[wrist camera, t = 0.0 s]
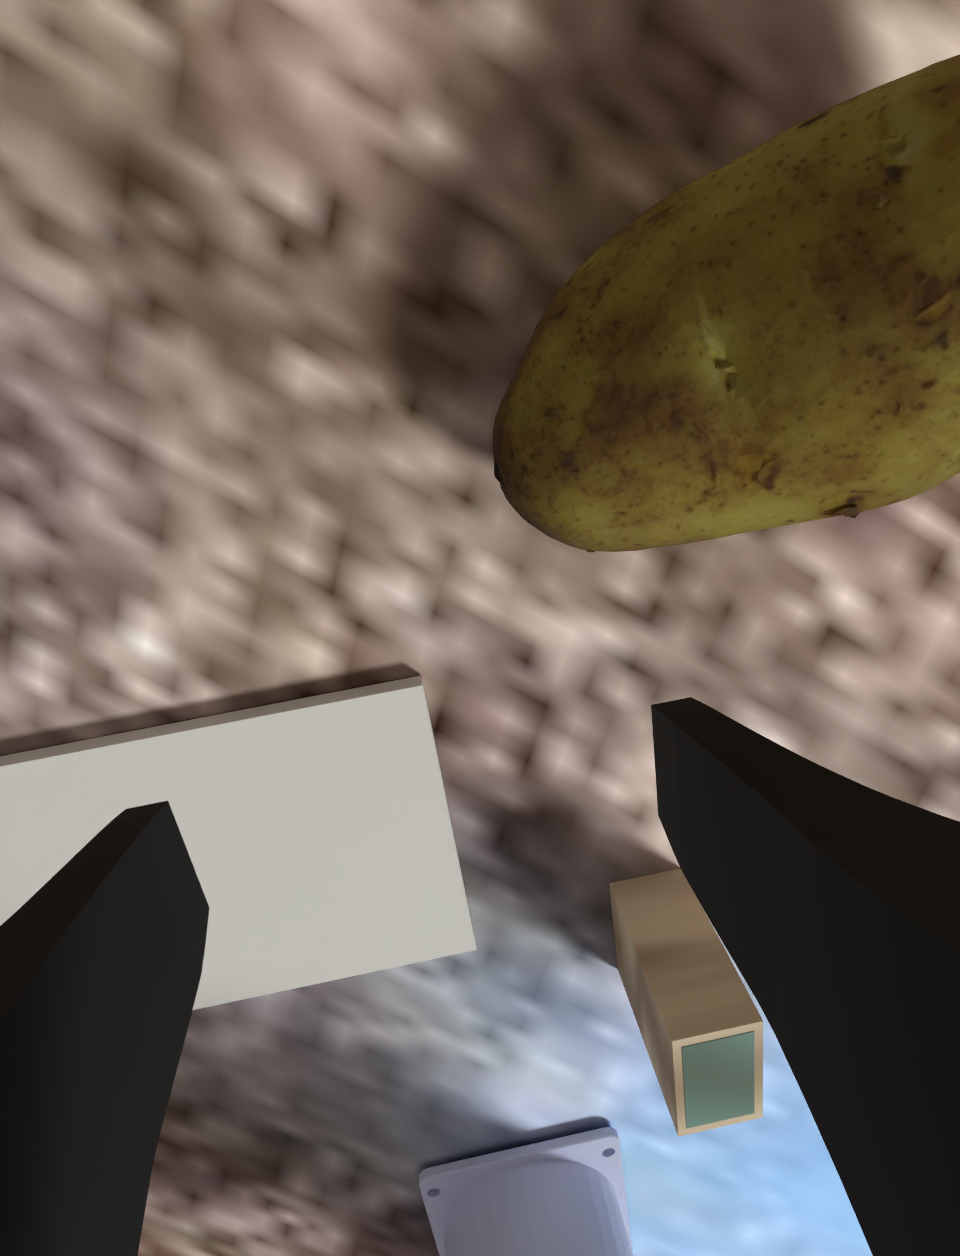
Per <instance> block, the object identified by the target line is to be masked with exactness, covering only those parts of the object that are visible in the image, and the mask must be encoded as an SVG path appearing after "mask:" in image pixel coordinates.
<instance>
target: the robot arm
mask: <svg viewBox="0 0 960 1256" xmlns="http://www.w3.org/2000/svg"><path fill="white" fill-rule="evenodd" d="M651 709H652V724H653V739H654V755H655V770H656V786H657V801H658V815H659V818H660V820H661V823H662V825H663V828H664V830H665V832H666V835H667V837H668V840H669V842H670V845H671V847H672V849H673V852H674V854H675V856H676V859H677V861H678V863H679V865H680V868H681V870H682V872H683V874H684V876H685V878H686V879H687V881H688V883H689V885H690V886H691V888H692V890H693V892H694V893H695V895H696V897H697V899H698V900H699V902H700V904H701V905H702V907H703V909H704V911H705V912H706V914H707V916H708V918H709V919H710V921H711V923H712V924H713V926H714V928H715V929H716V931H717V933H718V935H719V936H720V938H721V940H722V941H723V943H724V945H725V946H726V948H727V950H728V952H729V953H730V955H731V957H732V958H733V960H734V962H735V963H736V965H737V967H738V969H739V970H740V972H741V974H742V975H743V977H744V979H745V980H746V982H747V984H748V986H749V987H750V989H751V991H752V992H753V994H754V996H755V997H756V999H757V1001H758V1003H759V1005H760V1006H761V1008H762V1010H763V1012H764V1014H765V1016H766V1018H767V1020H768V1021H769V1023H770V1025H771V1027H772V1029H773V1031H774V1033H775V1035H776V1037H777V1039H778V1041H779V1044H780V1046H781V1048H782V1050H783V1052H784V1054H785V1057H786V1059H787V1061H788V1063H789V1065H790V1067H791V1070H792V1072H793V1074H794V1076H795V1078H796V1080H797V1082H798V1085H799V1087H800V1089H801V1091H802V1093H803V1095H804V1098H805V1100H806V1102H807V1104H808V1106H809V1109H810V1111H811V1113H812V1115H813V1118H814V1120H815V1122H816V1125H817V1127H818V1129H819V1131H820V1134H821V1136H822V1138H823V1140H824V1143H825V1145H826V1147H827V1149H828V1152H829V1154H830V1156H831V1158H832V1161H833V1163H834V1165H835V1167H836V1170H837V1172H838V1174H839V1176H840V1179H841V1181H842V1183H843V1186H844V1188H845V1190H846V1193H847V1195H848V1198H849V1200H850V1202H851V1205H852V1207H853V1209H854V1212H855V1214H856V1217H857V1219H858V1221H859V1224H860V1226H861V1228H862V1231H863V1233H864V1236H865V1238H866V1240H867V1243H868V1245H869V1247H870V1250H871V1252H872V1255H873V1256H960V822H959V821H956V820H953V819H950V818H947V817H944V816H941V815H938V814H935V813H933V812H930V811H927V810H925V809H922V808H919V807H917V806H914V805H911V804H908V803H906V802H903V801H900V800H898V799H895V798H892V797H890V796H887V795H885V794H883V793H880V792H878V791H875V790H873V789H870V788H868V787H866V786H863V785H861V784H859V783H857V782H855V781H852V780H850V779H848V778H846V777H844V776H841V775H839V774H837V773H835V772H833V771H830V770H828V769H826V768H824V767H822V766H820V765H818V764H816V763H814V762H812V761H810V760H808V759H806V758H804V757H802V756H800V755H798V754H796V753H794V752H792V751H790V750H788V749H786V748H784V747H782V746H780V745H778V744H777V743H775V742H773V741H771V740H769V739H767V738H765V737H764V736H762V735H760V734H758V733H756V732H754V731H752V730H751V729H749V728H747V727H745V726H743V725H742V724H740V723H738V722H736V721H734V720H733V719H731V718H729V717H727V716H725V715H724V714H722V713H720V712H718V711H716V710H715V709H713V708H711V707H709V706H707V705H705V704H703V703H701V702H700V701H697V700H695V699H693V698H691V697H690V698H685V699H680V700H675V701H669V702H664V703H659V704H654V705H651ZM208 916H209V905H208V903H207V900H206V897H205V895H204V892H203V890H202V887H201V885H200V882H199V879H198V877H197V874H196V872H195V869H194V866H193V864H192V861H191V859H190V856H189V853H188V851H187V848H186V846H185V843H184V841H183V838H182V835H181V833H180V830H179V828H178V825H177V822H176V820H175V817H174V815H173V812H172V809H171V807H170V804H169V802H168V801H163V802H158V803H153V804H148V805H143V806H138V807H133V808H128V809H125V810H124V811H123V812H121V813H120V814H119V815H118V816H117V817H115V818H114V819H113V820H112V821H111V822H110V823H109V824H107V825H106V826H105V827H104V828H103V829H102V830H101V831H100V832H99V833H98V834H97V835H96V836H95V837H94V838H92V839H91V840H90V841H89V842H88V843H87V844H86V845H85V846H84V847H83V848H82V849H81V850H80V851H79V852H78V853H77V854H76V855H75V856H74V857H73V858H72V859H71V860H70V861H69V862H68V863H67V864H66V865H64V866H63V867H62V868H61V869H60V870H59V871H58V872H57V873H56V874H55V875H54V876H53V877H52V878H51V879H50V880H49V881H48V882H47V883H46V884H45V885H44V886H43V887H42V888H40V889H39V890H38V891H37V892H36V893H35V894H34V895H33V896H32V897H31V898H30V899H29V900H28V901H27V902H26V903H25V904H24V905H23V906H22V907H21V908H20V909H18V910H17V911H16V912H15V913H14V914H13V915H12V916H11V917H10V918H9V919H7V920H6V921H5V922H4V923H3V924H2V925H1V926H0V1256H137V1255H138V1249H139V1243H140V1237H141V1231H142V1225H143V1218H144V1212H145V1206H146V1200H147V1194H148V1188H149V1182H150V1176H151V1170H152V1166H153V1161H154V1157H155V1152H156V1148H157V1143H158V1139H159V1134H160V1130H161V1127H162V1123H163V1119H164V1115H165V1112H166V1108H167V1104H168V1100H169V1097H170V1093H171V1089H172V1085H173V1082H174V1078H175V1074H176V1070H177V1067H178V1063H179V1059H180V1055H181V1052H182V1048H183V1044H184V1040H185V1037H186V1033H187V1029H188V1025H189V1021H190V1017H191V1013H192V1010H193V1006H194V1002H195V998H196V994H197V990H198V986H199V982H200V978H201V974H202V966H203V959H204V952H205V944H206V935H207V926H208ZM419 1188H420V1192H421V1195H422V1198H423V1202H424V1205H425V1208H426V1212H427V1215H428V1218H429V1222H430V1225H431V1229H432V1232H433V1235H434V1239H435V1242H436V1245H437V1249H438V1252H439V1256H633V1252H632V1244H631V1235H630V1226H629V1218H628V1209H627V1200H626V1192H625V1183H624V1174H623V1166H622V1157H621V1148H620V1140H619V1137H618V1133H617V1131H616V1130H615V1129H614V1128H611V1127H604V1128H599V1129H595V1130H590V1131H586V1132H582V1133H577V1134H573V1135H569V1136H564V1137H560V1138H555V1139H551V1140H547V1141H542V1142H538V1143H534V1144H529V1145H525V1146H520V1147H516V1148H512V1149H507V1150H503V1151H498V1152H494V1153H490V1154H485V1155H481V1156H477V1157H472V1158H468V1159H463V1160H459V1161H455V1162H450V1163H446V1164H442V1165H437V1166H433V1167H429V1168H426V1169H424V1170H423V1171H421V1173H420V1174H419Z"/></svg>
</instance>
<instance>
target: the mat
mask: <svg viewBox="0 0 960 1256" xmlns="http://www.w3.org/2000/svg"><path fill="white" fill-rule="evenodd" d="M163 801H168V802H169V804H170V807H171V809H172V812H173V815H174V817H175V820H176V822H177V825H178V828H179V830H180V833H181V835H182V838H183V841H184V843H185V846H186V848H187V851H188V853H189V856H190V859H191V861H192V864H193V866H194V869H195V872H196V874H197V877H198V879H199V882H200V885H201V887H202V890H203V892H204V895H205V897H206V900H207V903H208V905H209V916H208V926H207V935H206V944H205V952H204V959H203V966H202V974H201V978H200V982H199V986H198V990H197V994H196V998H195V1002H194V1006H193V1010H196V1009H201V1008H205V1007H210V1006H215V1005H219V1004H224V1003H229V1002H234V1001H238V1000H243V999H248V998H252V997H257V996H262V995H266V994H271V993H276V992H280V991H285V990H290V989H295V988H299V987H304V986H309V985H313V984H318V983H323V982H327V981H332V980H337V979H341V978H346V977H351V976H356V975H360V974H365V973H370V972H374V971H379V970H384V969H388V968H393V967H398V966H402V965H407V964H412V963H417V962H421V961H426V960H431V959H435V958H440V957H445V956H449V955H454V954H459V953H463V952H468V951H473V950H476V944H475V937H474V932H473V927H472V922H471V917H470V913H469V908H468V903H467V898H466V893H465V888H464V883H463V878H462V873H461V868H460V863H459V858H458V854H457V849H456V844H455V839H454V834H453V829H452V824H451V819H450V814H449V809H448V804H447V799H446V795H445V790H444V785H443V780H442V775H441V770H440V765H439V760H438V755H437V750H436V745H435V740H434V736H433V731H432V726H431V721H430V716H429V711H428V706H427V701H426V696H425V691H424V686H423V682H422V677H421V676H416V677H411V678H405V679H400V680H395V681H390V682H385V683H379V684H374V685H369V686H364V687H358V688H353V689H348V690H343V691H338V692H332V693H327V694H322V695H317V696H312V697H306V698H301V699H296V700H291V701H286V702H280V703H275V704H270V705H265V706H260V707H254V708H249V709H244V710H239V711H233V712H228V713H223V714H218V715H213V716H207V717H202V718H197V719H192V720H187V721H181V722H176V723H171V724H166V725H161V726H155V727H150V728H145V729H140V730H135V731H129V732H124V733H119V734H114V735H109V736H103V737H98V738H93V739H88V740H82V741H77V742H72V743H67V744H62V745H56V746H51V747H46V748H41V749H36V750H30V751H25V752H20V753H15V754H10V755H4V756H0V926H1V925H2V924H3V923H4V922H5V921H6V920H7V919H9V918H10V917H11V916H12V915H13V914H14V913H15V912H16V911H17V910H18V909H20V908H21V907H22V906H23V905H24V904H25V903H26V902H27V901H28V900H29V899H30V898H31V897H32V896H33V895H34V894H35V893H36V892H37V891H38V890H39V889H40V888H42V887H43V886H44V885H45V884H46V883H47V882H48V881H49V880H50V879H51V878H52V877H53V876H54V875H55V874H56V873H57V872H58V871H59V870H60V869H61V868H62V867H63V866H64V865H66V864H67V863H68V862H69V861H70V860H71V859H72V858H73V857H74V856H75V855H76V854H77V853H78V852H79V851H80V850H81V849H82V848H83V847H84V846H85V845H86V844H87V843H88V842H89V841H90V840H91V839H92V838H94V837H95V836H96V835H97V834H98V833H99V832H100V831H101V830H102V829H103V828H104V827H105V826H106V825H107V824H109V823H110V822H111V821H112V820H113V819H114V818H115V817H117V816H118V815H119V814H120V813H121V812H123V811H124V810H125V809H128V808H133V807H138V806H143V805H148V804H153V803H158V802H163Z"/></svg>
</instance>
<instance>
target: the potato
mask: <svg viewBox="0 0 960 1256" xmlns="http://www.w3.org/2000/svg"><path fill="white" fill-rule="evenodd" d="M493 452H494V474H495V477H496V479H497V480H498V481H499V482H500V485H501V489H502V491H503V493H504V495H505V497H506V499H507V500H508V502H509V503H510V504H511V505H512V507H513V508H514V509H515V510H516V511H517V512H518V514H519V515H520V516H521V517H522V518H523V519H525V520H526V521H527V522H528V523H529V524H531V525H532V526H534V527H535V528H537V529H538V530H540V531H541V532H543V533H544V534H546V535H547V536H549V537H551V538H553V539H556V540H558V541H560V542H562V543H564V544H566V545H570V546H573V547H576V548H579V549H585V550H586V551H588V552H595V551H607V552H618V551H636V550H642V549H648V548H655V547H663V546H672V545H681V544H687V543H692V542H698V541H704V540H710V539H716V538H721V537H725V536H730V535H735V534H739V533H745V532H751V531H757V530H762V529H768V528H773V527H778V526H784V525H789V524H795V523H801V522H806V521H812V520H818V519H823V518H829V517H835V516H840V515H844V516H846V517H847V516H849V517H852V518H856V517H857V516H858V515H859V513H860V512H862V511H866V510H870V509H874V508H879V507H883V506H887V505H890V504H893V503H896V502H899V501H902V500H905V499H909V498H911V497H914V496H916V495H918V494H921V493H923V492H925V491H927V490H929V489H931V488H933V487H935V486H937V485H939V484H941V483H943V482H944V481H946V480H948V479H950V478H951V477H953V476H955V475H956V474H958V473H960V55H957V56H954V57H951V58H949V59H946V60H943V61H940V62H937V63H934V64H932V65H930V66H928V67H926V68H923V69H921V70H919V71H916V72H914V73H911V74H909V75H906V76H904V77H901V78H899V79H896V80H894V81H891V82H889V83H886V84H884V85H881V86H879V87H876V88H874V89H872V90H870V91H867V92H865V93H863V94H861V95H858V96H856V97H854V98H852V99H849V100H847V101H845V102H843V103H840V104H838V105H836V106H834V107H831V108H829V109H827V110H825V111H823V112H820V113H818V114H816V115H814V116H812V117H810V118H808V119H807V120H805V121H803V122H801V123H798V124H797V125H795V126H793V127H791V128H789V129H788V130H786V131H784V132H782V133H780V134H779V135H777V136H775V137H774V138H772V139H770V140H769V141H767V142H765V143H764V144H762V145H761V146H759V147H757V148H755V149H754V150H752V151H750V152H748V153H746V154H745V155H743V156H741V157H740V158H738V159H736V160H734V161H733V162H731V163H729V164H727V165H726V166H724V167H722V168H720V169H718V170H716V171H714V172H712V173H709V174H707V175H705V176H703V177H701V178H699V179H697V180H695V181H693V182H691V183H689V184H687V185H685V186H683V187H682V188H680V189H679V190H677V191H676V192H674V193H673V194H671V195H669V196H668V197H666V198H665V199H663V200H662V201H660V202H659V203H657V204H656V205H654V206H653V207H652V208H650V209H649V210H647V211H646V212H645V213H643V214H642V215H641V216H639V217H638V218H637V219H636V220H634V221H633V222H632V223H630V224H629V225H628V226H627V227H625V228H624V229H623V230H621V231H620V232H619V233H618V234H616V235H615V236H614V237H613V238H611V239H610V240H609V241H608V242H606V243H605V244H604V245H603V246H601V247H600V248H599V249H598V250H597V251H596V252H595V253H594V254H593V255H592V256H591V257H590V258H589V259H588V260H587V261H586V262H585V263H584V264H583V265H582V266H581V267H580V268H579V269H578V270H577V271H576V272H575V273H574V274H573V275H572V277H571V278H570V279H569V280H568V281H567V282H566V284H565V285H564V286H563V287H562V288H561V290H560V291H559V292H558V293H557V295H556V296H555V297H554V298H553V300H552V301H551V302H550V304H549V306H548V308H547V309H546V311H545V313H544V314H543V316H542V318H541V319H540V321H539V323H538V325H537V327H536V329H535V331H534V334H533V336H532V338H531V341H530V343H529V345H528V348H527V350H526V352H525V354H524V357H523V359H522V361H521V363H520V365H519V368H518V370H517V372H516V374H515V376H514V377H513V379H512V381H511V383H510V385H509V387H508V390H507V392H506V394H505V396H504V398H503V400H502V402H501V405H500V407H499V410H498V412H497V415H496V418H495V423H494V429H493Z"/></svg>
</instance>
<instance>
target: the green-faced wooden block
mask: <svg viewBox="0 0 960 1256" xmlns="http://www.w3.org/2000/svg"><path fill="white" fill-rule="evenodd" d="M609 888H610V898H611V907H612V917H613V927H614V937H615V946H616V956H617V966H618V971H619V974H620V977H621V979H622V982H623V985H624V988H625V990H626V993H627V996H628V999H629V1001H630V1004H631V1007H632V1010H633V1013H634V1015H635V1018H636V1021H637V1024H638V1026H639V1029H640V1032H641V1035H642V1037H643V1040H644V1043H645V1046H646V1049H647V1051H648V1054H649V1057H650V1060H651V1062H652V1065H653V1068H654V1071H655V1073H656V1076H657V1079H658V1082H659V1084H660V1087H661V1090H662V1093H663V1096H664V1098H665V1101H666V1104H667V1107H668V1109H669V1112H670V1115H671V1118H672V1120H673V1123H674V1126H675V1129H676V1132H677V1134H678V1137H679V1136H683V1135H687V1134H692V1133H696V1132H700V1131H705V1130H709V1129H713V1128H718V1127H722V1126H727V1125H731V1124H735V1123H740V1122H744V1121H748V1120H753V1119H757V1118H761V1117H763V1020H762V1018H761V1016H760V1014H759V1013H758V1011H757V1009H756V1007H755V1005H754V1003H753V1001H752V999H751V998H750V996H749V994H748V992H747V990H746V988H745V986H744V984H743V983H742V981H741V979H740V977H739V975H738V973H737V971H736V970H735V968H734V966H733V964H732V962H731V960H730V958H729V956H728V955H727V953H726V951H725V949H724V947H723V945H722V943H721V941H720V940H719V938H718V936H717V934H716V932H715V930H714V928H713V926H712V925H711V923H710V921H709V919H708V917H707V915H706V913H705V911H704V910H703V908H702V906H701V904H700V902H699V900H698V899H697V897H696V895H695V893H694V892H693V890H692V888H691V886H690V885H689V883H688V881H687V879H686V878H685V876H684V874H683V872H682V870H681V868H679V869H674V870H670V871H665V872H660V873H655V874H651V875H646V876H641V877H636V878H632V879H627V880H622V881H617V882H612V883H609Z"/></svg>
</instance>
